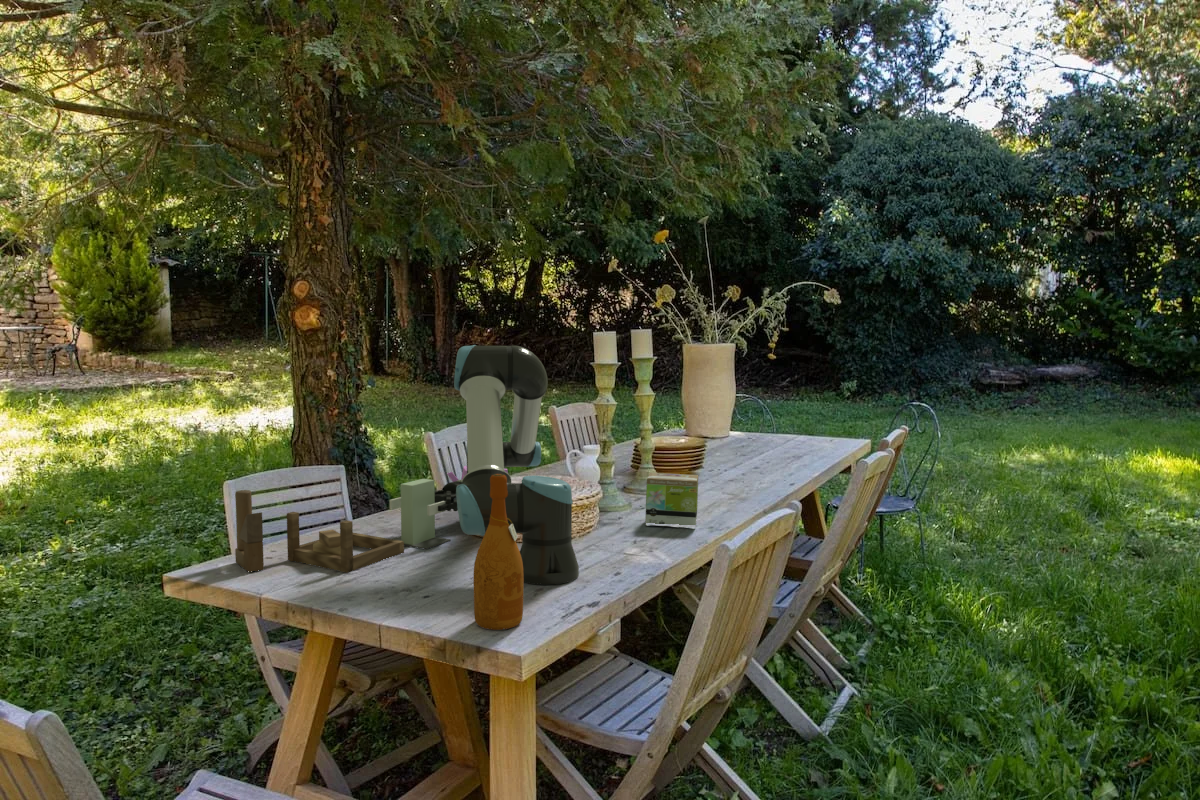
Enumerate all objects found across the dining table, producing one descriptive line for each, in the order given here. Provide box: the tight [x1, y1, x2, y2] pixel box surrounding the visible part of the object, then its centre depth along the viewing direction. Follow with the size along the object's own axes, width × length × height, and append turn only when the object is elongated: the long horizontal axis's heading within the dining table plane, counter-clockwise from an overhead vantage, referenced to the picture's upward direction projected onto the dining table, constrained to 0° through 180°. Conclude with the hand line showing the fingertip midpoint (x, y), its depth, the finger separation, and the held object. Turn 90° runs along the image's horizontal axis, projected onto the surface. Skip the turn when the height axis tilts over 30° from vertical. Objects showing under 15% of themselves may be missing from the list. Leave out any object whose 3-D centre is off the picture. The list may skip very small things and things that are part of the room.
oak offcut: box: [313, 542, 341, 556], centre depth 202 cm, size 8×4×3 cm, turn 73°
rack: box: [286, 511, 405, 574], centre depth 207 cm, size 20×20×12 cm
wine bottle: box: [473, 474, 525, 631], centre depth 161 cm, size 10×10×30 cm
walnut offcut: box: [318, 529, 340, 548], centre depth 201 cm, size 7×4×3 cm, turn 38°
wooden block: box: [234, 489, 265, 573], centre depth 197 cm, size 4×11×18 cm, turn 39°
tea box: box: [645, 472, 699, 525], centre depth 243 cm, size 15×10×15 cm, turn 81°
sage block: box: [400, 478, 436, 545], centre depth 221 cm, size 4×9×16 cm, turn 152°
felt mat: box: [392, 535, 451, 550], centre depth 222 cm, size 14×10×1 cm
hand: (409, 507), depth 218 cm, fingers open, 12 cm apart
